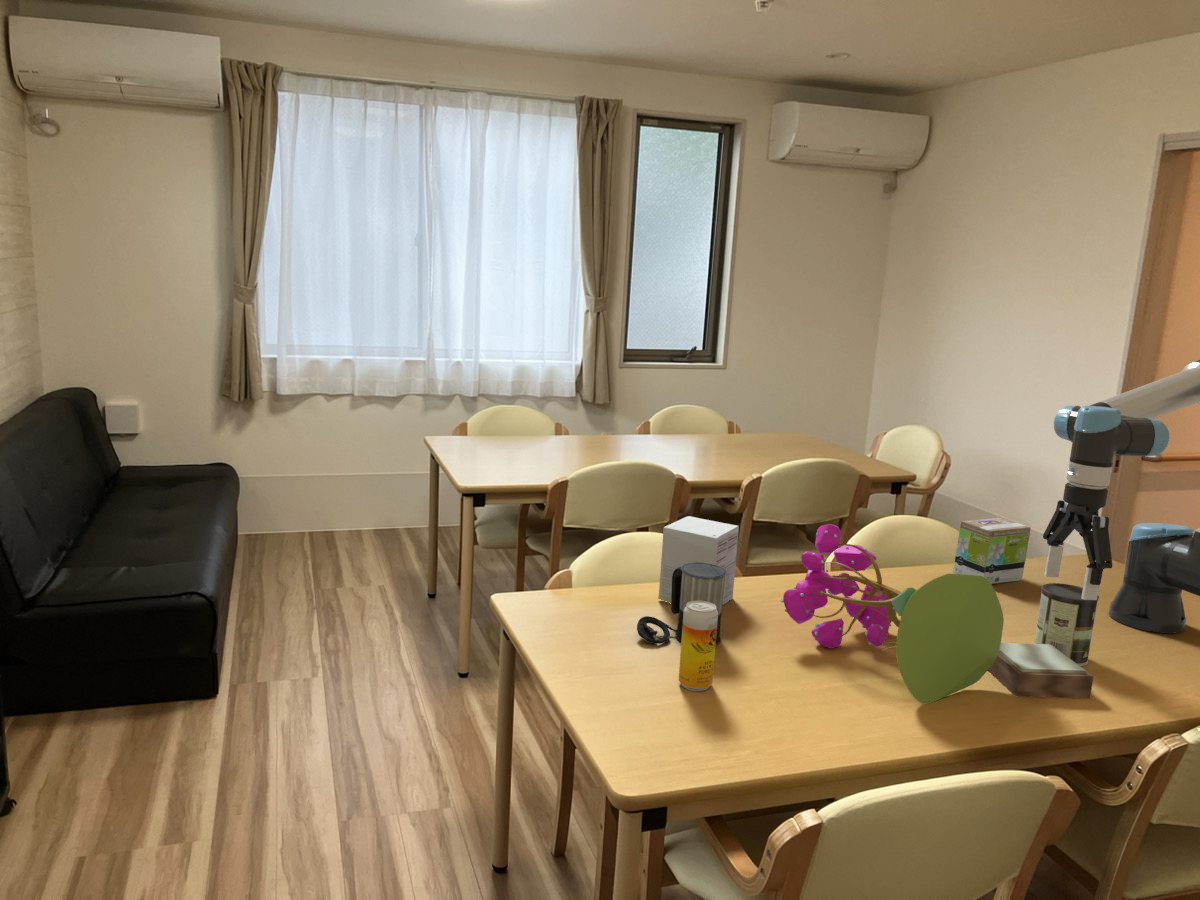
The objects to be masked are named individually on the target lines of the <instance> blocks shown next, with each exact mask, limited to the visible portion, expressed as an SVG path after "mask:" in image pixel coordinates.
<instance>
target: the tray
mask: <svg viewBox="0 0 1200 900" xmlns="http://www.w3.org/2000/svg"><path fill="white" fill-rule="evenodd" d="M987 672H988V673H990V675H992V676H993V677H994V678H995V679H996V680H998V682H1000V684H1002V686H1004V687H1005V688H1006V689H1007V690H1008V691H1009V692H1011V694H1013V695H1014V696H1015V697H1023V698H1050V699H1051V698H1055V699H1056V698H1059V699H1060V698H1061V699H1086V698H1087V699H1089V700H1090V699H1091V693H1092V688H1093V681H1094V677H1095V676H1094V675H1093V674H1091V673H1090V672H1088V670H1086V669H1085V668H1084V667H1083V666H1079V665H1078V664H1077V663H1075V662H1074V661H1073V660H1071V659H1070V658H1069V657H1067V656H1066V655H1065V654H1063V653H1062V652H1061V651H1059V650H1058V649H1056V648H1055V647H1054V646H1052V645H1051V644H1034V643H1019V642H1013V643H1012V642H1001V644H1000V649H999V652H998V655H997V657H996V659H995V661H994V663H993V665H992V666H991V667H990V668H989V669H988V671H987ZM1087 699H1086V700H1087Z"/></svg>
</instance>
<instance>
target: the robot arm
mask: <svg viewBox="0 0 1200 900" xmlns="http://www.w3.org/2000/svg"><path fill="white" fill-rule="evenodd" d="M1194 404H1195V405H1196V404H1199V405H1200V359H1198V360H1195V361H1193V362H1189V363H1188V364H1186V365H1185V366H1184V367H1183V368H1182V370H1181V371H1180V372H1179V371H1178V372H1176V373H1173V374H1171V375H1168V376H1166V377H1163V378H1160V379H1157V380H1155V381H1152V382H1150V383H1147V384H1144V385H1142V386H1139V387H1135V388H1133V389H1131V390H1128V391H1125V392H1123V393H1120V394H1117V395H1114V396H1112V397H1109V398H1106V399H1103V400H1101V401H1098V402H1096V403H1093V404H1090V405H1089V404H1088V405H1083V406H1080V405H1066V406H1063V407H1061V408H1060V409H1059V410H1058V411H1057V413H1056V414H1055V416H1054V419H1053V429H1054V433H1055V434H1056V435H1057V436H1058V437H1059V438H1060V439H1062V440H1065V441H1068V442H1071V450H1070V456H1069V462H1068V463H1069V464H1068V467H1067V475H1066V480H1067V481H1068V482H1067V483H1065V484H1064V485H1065V486H1064V489H1063V490H1064V491H1063V496H1062V499H1063V500H1062V499H1061V500H1060V499H1059V500H1058V501H1057V504H1056V508H1055V511H1054V513H1053V514H1052V517H1051V519H1050V521H1049V522H1048V525H1047V527H1046V528H1045V531H1044V532H1043V534H1042V539H1043V540H1046V543H1047V545H1048V548H1047V554H1046V562H1045V569H1044V573H1043V575H1044V577H1046V578H1059V576H1060V572H1061V571H1060V570H1061V564H1062V560H1063V553H1064V546H1065V543H1064V542H1065V540H1067V538H1068V537H1069V536H1070V535H1071V534H1072V533H1073V532H1074V530H1075V531H1076V532H1077V533H1078V534H1079V536H1080V537H1082V540H1083V544H1084V548H1085V551H1086V555H1087V558H1088V562H1089V564H1088V565H1086V568H1085V574H1084V580H1083V586H1082V588H1083V591H1082V597H1081V598H1082V599H1083V600H1097V597H1098V596H1099V591H1100V585H1101V583H1102V578H1103V573H1104V572H1103V571H1104V570H1105V569H1112V568H1113V559H1112V552H1111V543H1110V535H1109V534H1110V533H1109V525H1110V524H1109V523H1110V518H1109V517H1108V516H1100V515H1099V510H1100V509H1102V508H1105V506H1106V505H1107V498H1108V493H1109V490H1108V488H1107V487H1109V486H1110V483H1111V477H1112V471H1113V464H1114V459H1115V457H1117V456H1121V457H1122V456H1123V457H1124V456H1125V457H1142V458H1145V457H1151V456H1158V455H1160V454H1161V453H1163V452H1164V451H1165V449H1167V447H1168V445H1169V441H1170V431H1169V429H1168V426H1167V425H1166V424H1165V423H1164V422H1162V420H1159V419H1158V418H1160V417H1162V416H1166V415H1169V414H1172V413H1173V412H1177V411H1179V410H1181V409H1185V408H1187V407H1190V406H1192V405H1194ZM1129 537H1130V538H1129V539H1128V548H1127V553H1126V560H1125V565H1124V572H1123V573H1124V574H1123V578H1122V579H1123V580H1122V583H1121V586H1120V587H1119V588H1118V591H1117V592H1116V594H1115V595H1114V598H1113V600H1112V601H1111V602H1110V605H1109V609H1108V615H1109V617H1111V618H1112V619H1113V620H1115V621H1117V622H1118V623H1121V624H1123V625H1125V626H1127V627H1130V628H1131V627H1132V628H1135V629H1138V630H1142V631H1147V632H1151V631H1154V632H1153V633H1158V632H1163V633H1162V634H1175V633H1174V632H1179V633H1182V632H1184V631H1183V630H1185V629H1186V623H1187V619H1186V615H1185V614H1186V613H1185V608H1184V604H1183V603H1184V602H1183V599H1182V593H1183V592H1184V591H1185V592H1188V593H1189V594H1193V595H1195V596H1197V597H1200V527H1198V528H1195V529H1194V530H1193V528H1192V527H1190V526H1188V525H1181V524H1174V523H1162V522H1140V523H1137V524H1135V525H1134V526H1133V527H1132V530H1131V534H1130V536H1129ZM1181 631H1182V632H1181Z"/></svg>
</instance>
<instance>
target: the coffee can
mask: <svg viewBox="0 0 1200 900" xmlns="http://www.w3.org/2000/svg"><path fill="white" fill-rule="evenodd" d="M1082 591H1083V586H1082V587H1081V586H1077V585H1072V584H1067V583H1058V582H1056V583H1055V582H1054V583H1053V582H1052V583H1045V584H1043V585H1042V586H1041V593H1040V594H1041V595H1040V602H1039V609H1038V615H1037V616H1038V617H1037V622H1036V630H1035V638H1034V642H1033V644H1051V645H1052V646H1054V647H1055V648H1056V649H1058V650H1059V651H1061V652H1062V653H1063V654H1065V655H1066V656H1067V657H1069V658H1070V659H1071V660H1073V661H1074V662H1075V663H1077V664H1078V665H1079V666H1081V667H1084V666H1087V665H1088V663H1089V655H1090V650H1091V642H1092V638H1093V637H1092V636H1093V631H1094V624H1095V619H1096V618H1095V617H1096V612H1097V606H1098V601H1099V598H1100V597H1099V595H1098V597H1097V600H1083V599H1082V598H1081V597H1082Z"/></svg>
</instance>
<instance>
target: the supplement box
mask: <svg viewBox="0 0 1200 900" xmlns="http://www.w3.org/2000/svg"><path fill="white" fill-rule="evenodd" d="M739 530H740V529H739V525H735V524H731V523H724V522H721V521H720V522H719V521H715V520H711V519H710V520H709V519H704V518H699V517H695V516H690V515H688V516H685V517H683V518H680V519H679V520H677V521H674V522H671V524H667V525H666V526H664V527H663V531H662V544H661V545H662V546H661V547H662V548H661V561H660V571H659V572H660V573H659V577H660V578H659V588H658V599H661V600H664V601H667V602H670V603H671V593H672V575H673V572H674V570H675V569H676V568H678V567H682V566H683V565H684V564H687V563H695V562H701V563H709V564H714V565H717V566H720V567H722V568H724V569H725V570H726V571H727V574H726V575H725V584H724V595H723V604H722V605H723V606H724V605H725V604H727V603H729V602H730V601H731V600H732V598H734V588H735V575H736V563H737V551H738V541H739ZM658 599H657V600H658ZM729 600H730V601H729Z"/></svg>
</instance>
